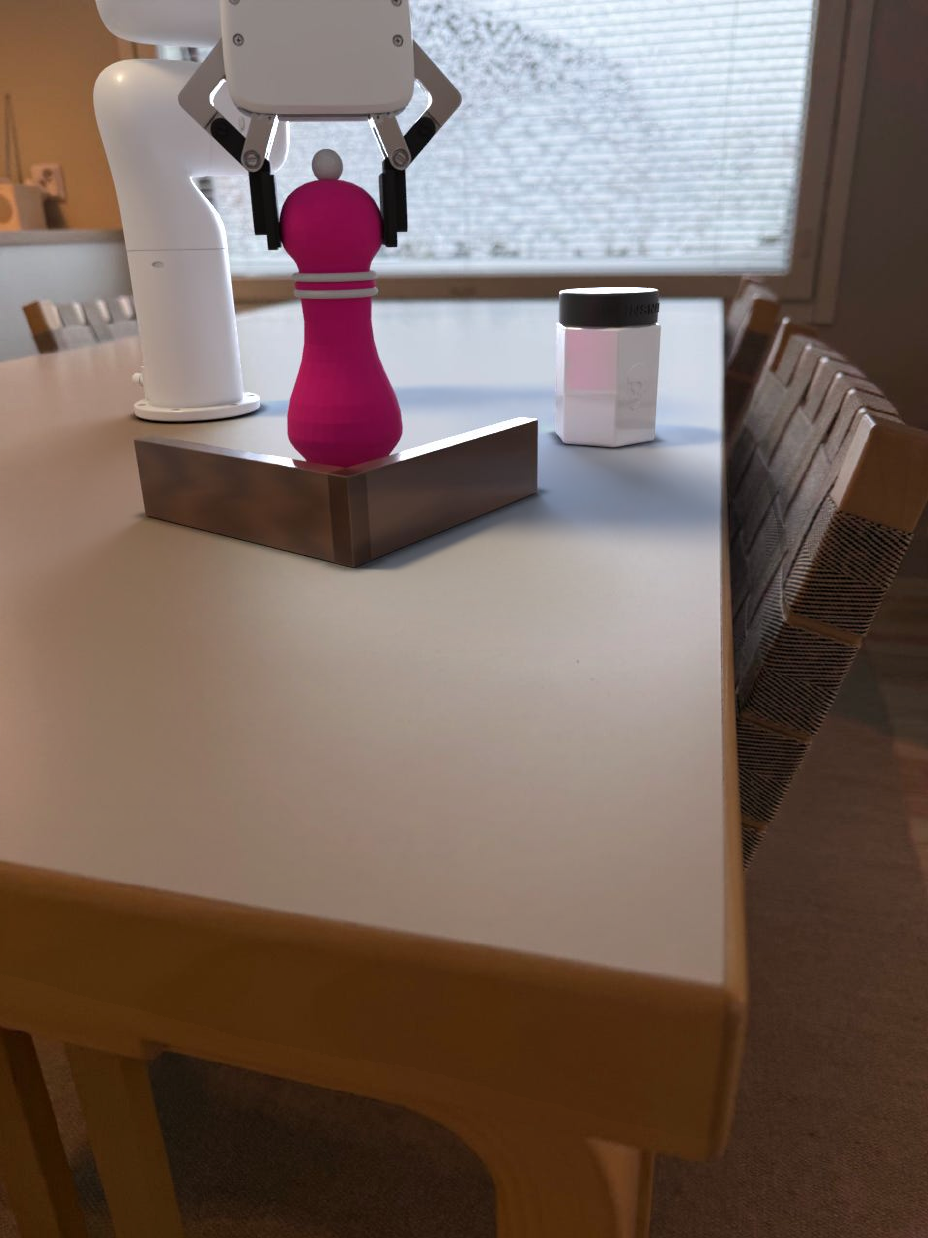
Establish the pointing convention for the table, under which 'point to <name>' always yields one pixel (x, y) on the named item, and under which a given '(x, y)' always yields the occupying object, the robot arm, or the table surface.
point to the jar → (607, 366)
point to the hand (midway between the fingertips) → (332, 244)
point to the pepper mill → (337, 322)
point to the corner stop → (339, 491)
